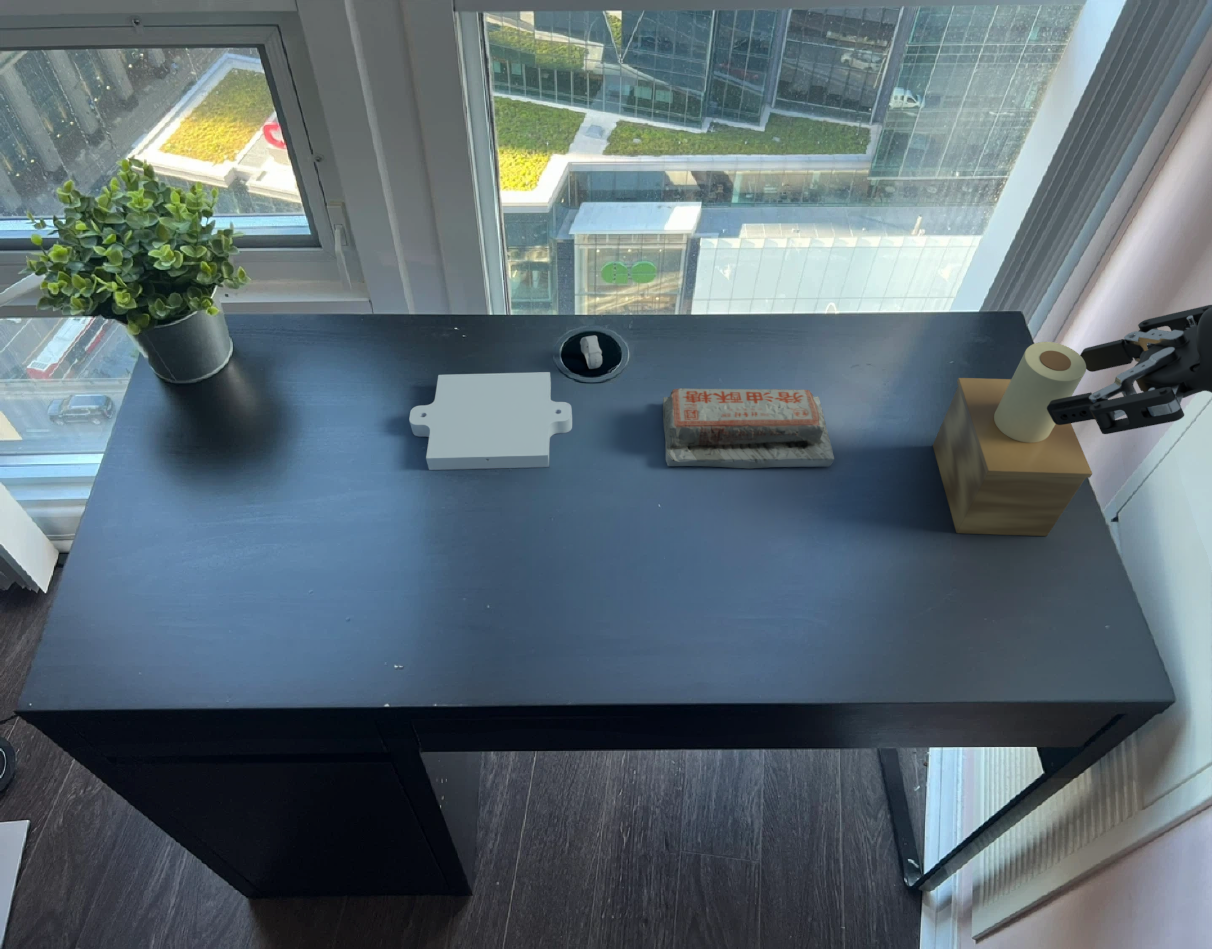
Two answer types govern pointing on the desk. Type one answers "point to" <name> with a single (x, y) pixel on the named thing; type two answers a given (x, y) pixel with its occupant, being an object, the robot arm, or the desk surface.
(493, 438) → the mounting plate
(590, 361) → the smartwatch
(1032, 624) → the desk surface
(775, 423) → the packaged product
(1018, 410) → the toilet paper roll
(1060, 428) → the oak box
